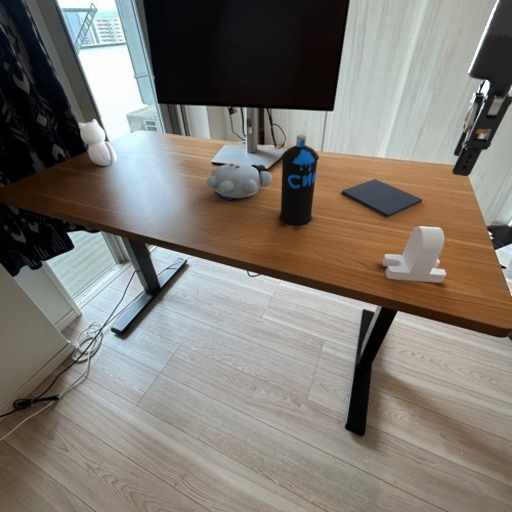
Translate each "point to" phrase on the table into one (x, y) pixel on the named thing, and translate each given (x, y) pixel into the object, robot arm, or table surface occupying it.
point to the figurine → (238, 180)
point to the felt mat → (381, 197)
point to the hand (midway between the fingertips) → (460, 164)
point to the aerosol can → (298, 183)
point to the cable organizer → (418, 257)
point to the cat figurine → (97, 143)
